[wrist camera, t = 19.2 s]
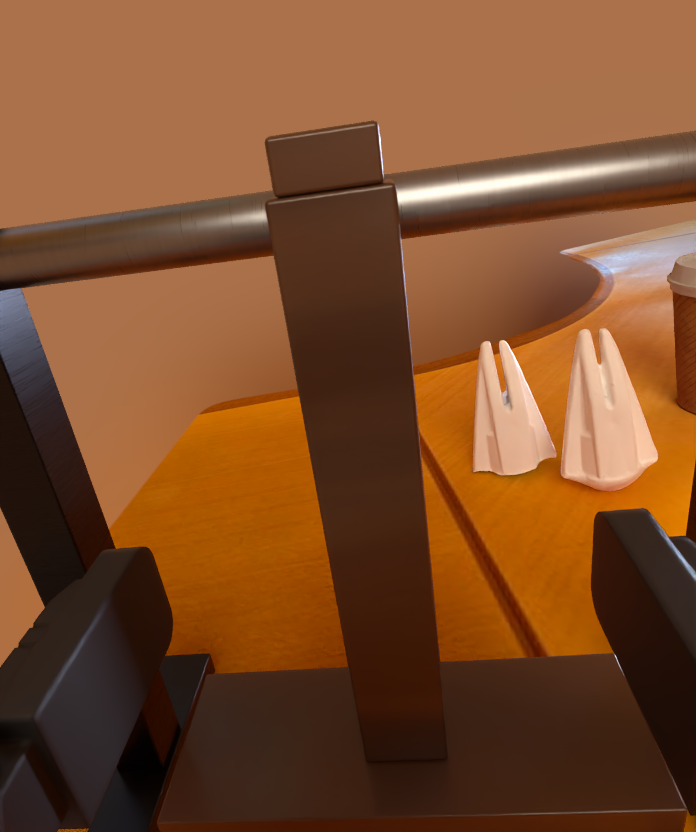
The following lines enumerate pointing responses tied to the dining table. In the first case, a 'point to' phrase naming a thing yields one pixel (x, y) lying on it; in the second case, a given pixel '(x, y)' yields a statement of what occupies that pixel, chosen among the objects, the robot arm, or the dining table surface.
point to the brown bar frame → (394, 592)
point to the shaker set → (584, 424)
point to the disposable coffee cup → (685, 328)
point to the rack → (220, 242)
